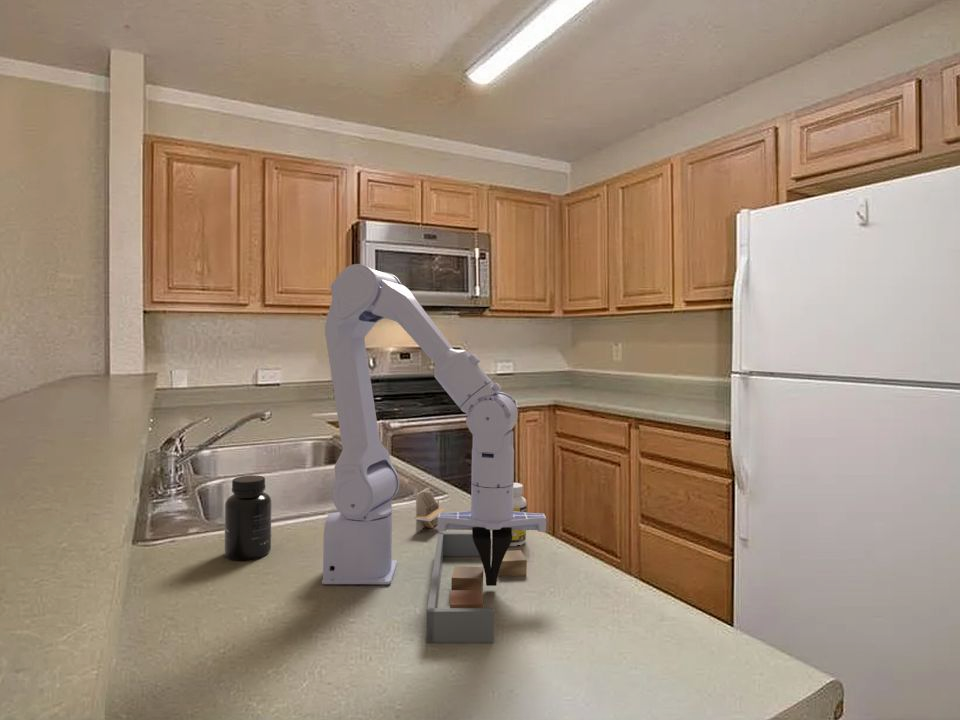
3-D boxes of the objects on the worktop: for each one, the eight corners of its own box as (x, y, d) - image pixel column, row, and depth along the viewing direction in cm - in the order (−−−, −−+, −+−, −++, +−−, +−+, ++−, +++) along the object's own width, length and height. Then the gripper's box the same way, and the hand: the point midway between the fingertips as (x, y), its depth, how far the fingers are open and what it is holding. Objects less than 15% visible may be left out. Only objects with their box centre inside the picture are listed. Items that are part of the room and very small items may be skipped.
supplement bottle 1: (214, 557, 87) (214, 480, 86) (247, 543, 93) (248, 471, 93) (248, 564, 84) (248, 485, 84) (280, 550, 90) (281, 475, 90)
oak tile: (499, 578, 81) (499, 561, 81) (494, 567, 85) (494, 551, 85) (526, 577, 81) (526, 560, 81) (520, 566, 85) (520, 550, 85)
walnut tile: (451, 596, 74) (451, 577, 74) (454, 583, 78) (454, 566, 78) (481, 597, 74) (481, 578, 74) (483, 584, 78) (483, 567, 78)
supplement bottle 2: (524, 548, 92) (524, 489, 92) (491, 545, 94) (492, 487, 93) (527, 537, 98) (528, 482, 98) (497, 535, 99) (498, 480, 99)
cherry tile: (449, 625, 67) (450, 604, 67) (449, 609, 71) (449, 590, 71) (483, 624, 67) (483, 604, 67) (481, 609, 71) (481, 590, 71)
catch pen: (426, 642, 62) (426, 611, 62) (438, 554, 89) (438, 532, 89) (493, 642, 63) (494, 611, 63) (485, 554, 90) (485, 532, 90)
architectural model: (445, 528, 104) (446, 488, 104) (430, 540, 97) (430, 497, 97) (428, 526, 105) (429, 486, 105) (412, 537, 98) (413, 495, 98)
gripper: (437, 490, 72) (436, 595, 72) (550, 490, 72) (548, 595, 72) (439, 477, 79) (438, 573, 79) (542, 478, 79) (541, 573, 79)
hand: (491, 582), depth 76 cm, fingers closed
